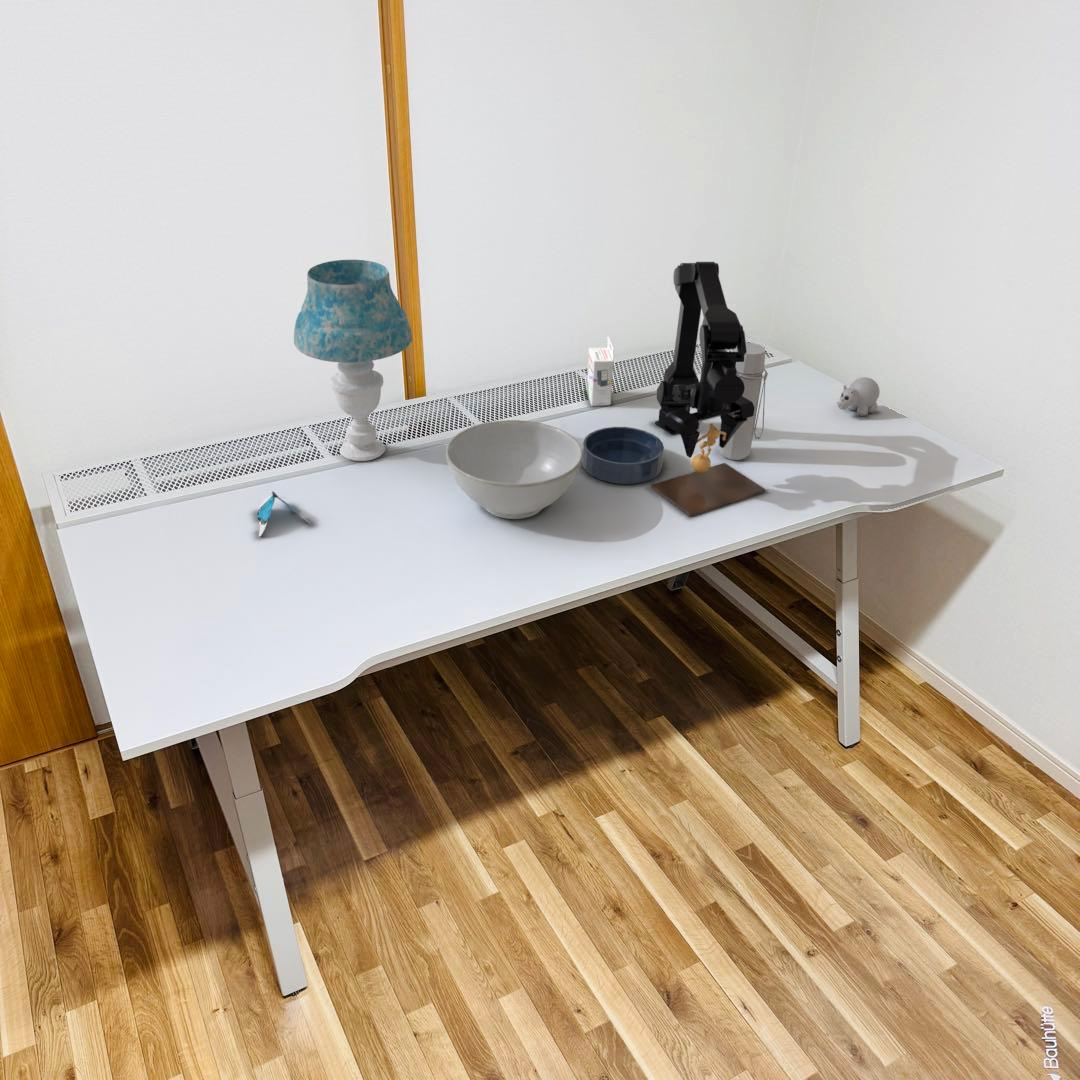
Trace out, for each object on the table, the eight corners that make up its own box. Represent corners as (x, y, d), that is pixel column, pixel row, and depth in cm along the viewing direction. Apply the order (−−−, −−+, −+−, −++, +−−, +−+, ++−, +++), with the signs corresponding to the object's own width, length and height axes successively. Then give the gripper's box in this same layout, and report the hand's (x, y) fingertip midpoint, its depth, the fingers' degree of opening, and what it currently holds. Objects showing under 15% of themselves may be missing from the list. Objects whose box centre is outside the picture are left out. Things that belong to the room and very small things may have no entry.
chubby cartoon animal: (823, 412, 239) (830, 379, 234) (859, 402, 244) (866, 370, 239) (845, 423, 233) (852, 390, 229) (881, 413, 239) (889, 381, 234)
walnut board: (724, 465, 215) (724, 462, 214) (764, 492, 205) (765, 489, 205) (650, 488, 206) (650, 484, 205) (689, 517, 196) (689, 513, 196)
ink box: (585, 391, 245) (588, 335, 237) (605, 391, 246) (609, 334, 238) (590, 406, 238) (594, 348, 230) (611, 406, 238) (615, 348, 230)
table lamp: (405, 421, 229) (395, 249, 207) (428, 470, 210) (420, 286, 188) (300, 434, 222) (279, 258, 200) (315, 485, 203) (293, 296, 181)
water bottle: (713, 458, 217) (727, 351, 204) (721, 443, 223) (736, 338, 210) (754, 466, 215) (772, 359, 201) (761, 451, 221) (779, 345, 207)
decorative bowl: (516, 458, 215) (517, 408, 208) (607, 505, 199) (611, 452, 193) (420, 500, 199) (417, 447, 192) (510, 555, 183) (511, 499, 177)
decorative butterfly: (294, 482, 196) (306, 493, 188) (299, 512, 198) (312, 525, 190) (242, 493, 192) (253, 505, 184) (249, 524, 194) (259, 537, 186)
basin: (630, 440, 224) (632, 420, 221) (677, 473, 211) (680, 452, 209) (567, 457, 216) (568, 437, 213) (611, 492, 204) (613, 471, 201)
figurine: (711, 463, 208) (718, 412, 201) (727, 476, 203) (735, 424, 197) (677, 471, 205) (684, 419, 198) (693, 485, 200) (700, 432, 193)
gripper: (724, 357, 202) (715, 426, 211) (651, 375, 194) (645, 445, 203) (761, 377, 194) (750, 447, 203) (687, 397, 186) (678, 469, 195)
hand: (705, 451), depth 201 cm, fingers closed on figurine, 8 cm apart
